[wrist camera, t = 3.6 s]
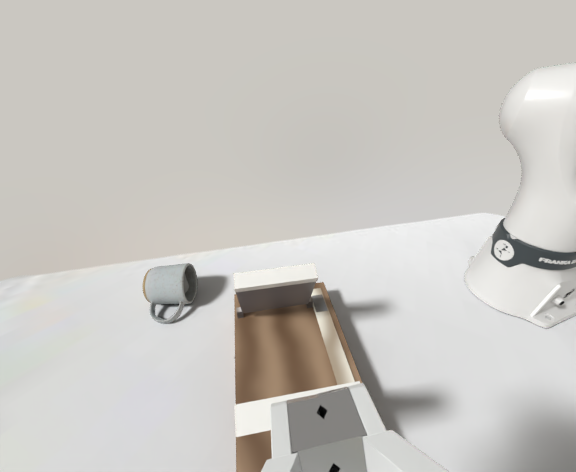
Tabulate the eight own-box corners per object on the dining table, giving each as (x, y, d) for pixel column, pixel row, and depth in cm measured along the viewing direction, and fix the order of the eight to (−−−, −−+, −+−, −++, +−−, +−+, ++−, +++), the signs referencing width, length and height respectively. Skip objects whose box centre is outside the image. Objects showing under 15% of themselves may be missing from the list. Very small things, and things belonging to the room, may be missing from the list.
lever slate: (305, 292, 46) (314, 263, 36) (308, 304, 45) (318, 277, 35) (241, 301, 44) (233, 273, 35) (242, 314, 43) (234, 289, 34)
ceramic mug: (161, 284, 57) (149, 257, 53) (200, 282, 57) (191, 255, 53) (142, 327, 49) (126, 299, 44) (187, 325, 49) (176, 297, 44)
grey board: (334, 388, 33) (359, 380, 24) (339, 408, 32) (367, 410, 22) (245, 405, 32) (234, 404, 22) (247, 427, 30) (235, 437, 21)
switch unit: (322, 296, 54) (324, 274, 50) (379, 454, 33) (389, 436, 29) (237, 308, 52) (233, 287, 48) (240, 486, 31) (234, 471, 27)
